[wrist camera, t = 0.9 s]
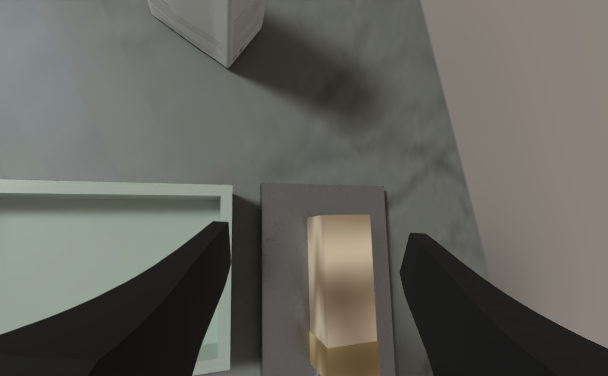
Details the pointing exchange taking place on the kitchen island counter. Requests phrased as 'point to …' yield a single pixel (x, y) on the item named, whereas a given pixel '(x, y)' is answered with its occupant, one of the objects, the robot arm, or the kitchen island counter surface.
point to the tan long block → (342, 296)
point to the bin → (101, 246)
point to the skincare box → (213, 24)
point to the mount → (295, 275)
